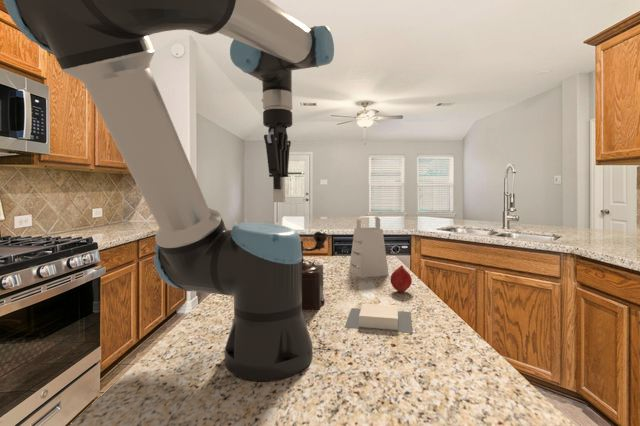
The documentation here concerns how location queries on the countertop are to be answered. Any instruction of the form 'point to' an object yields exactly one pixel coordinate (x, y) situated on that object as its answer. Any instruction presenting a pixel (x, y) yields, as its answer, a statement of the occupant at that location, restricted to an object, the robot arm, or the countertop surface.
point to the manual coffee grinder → (313, 277)
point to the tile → (379, 316)
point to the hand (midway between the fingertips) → (279, 201)
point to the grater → (368, 251)
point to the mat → (403, 326)
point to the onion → (401, 279)
